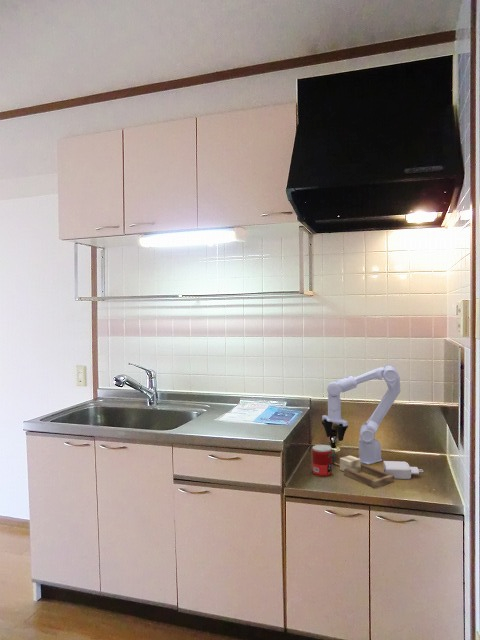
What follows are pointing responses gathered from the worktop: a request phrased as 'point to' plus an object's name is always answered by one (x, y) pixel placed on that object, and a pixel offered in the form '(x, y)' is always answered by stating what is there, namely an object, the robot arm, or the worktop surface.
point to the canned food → (322, 460)
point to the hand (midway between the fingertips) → (334, 438)
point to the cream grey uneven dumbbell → (347, 462)
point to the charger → (400, 469)
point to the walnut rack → (382, 478)
